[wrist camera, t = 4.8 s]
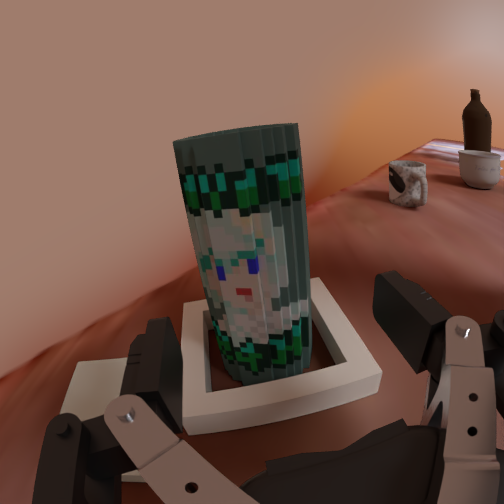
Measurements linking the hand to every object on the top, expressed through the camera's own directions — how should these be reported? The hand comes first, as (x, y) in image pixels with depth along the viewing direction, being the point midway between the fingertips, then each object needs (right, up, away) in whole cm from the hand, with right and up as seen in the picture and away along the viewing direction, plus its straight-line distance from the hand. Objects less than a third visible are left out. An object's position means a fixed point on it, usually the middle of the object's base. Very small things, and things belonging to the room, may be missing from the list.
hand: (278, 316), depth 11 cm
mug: (+26, +10, +35) cm, 45 cm away
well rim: (0, -5, +10) cm, 11 cm away
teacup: (+52, +17, +41) cm, 68 cm away
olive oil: (+72, +30, +63) cm, 100 cm away
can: (0, -5, +10) cm, 11 cm away
